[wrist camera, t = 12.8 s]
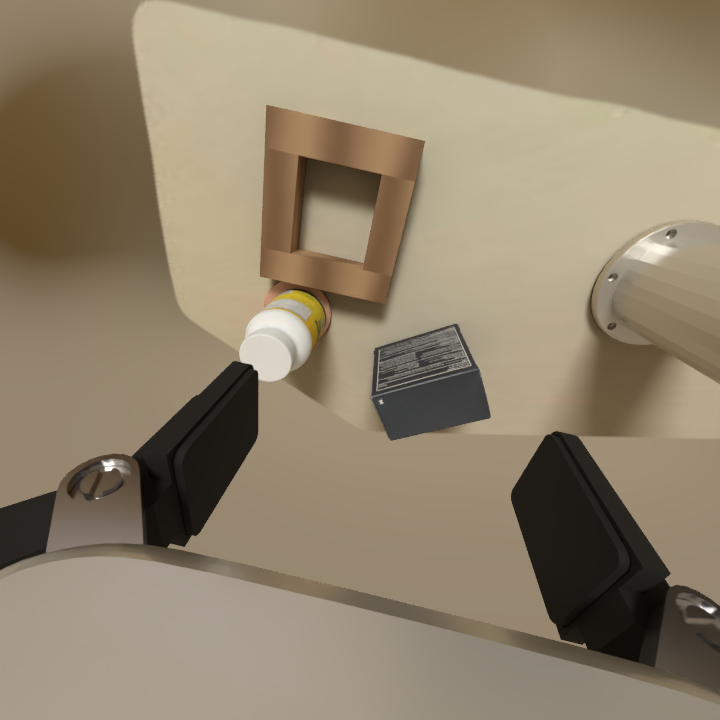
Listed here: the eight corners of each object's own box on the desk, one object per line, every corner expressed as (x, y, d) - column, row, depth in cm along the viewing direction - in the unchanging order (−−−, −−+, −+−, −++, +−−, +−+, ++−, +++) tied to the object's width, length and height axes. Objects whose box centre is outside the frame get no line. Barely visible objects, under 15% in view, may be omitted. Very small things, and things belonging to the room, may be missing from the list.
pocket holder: (422, 145, 29) (425, 141, 26) (385, 295, 36) (384, 304, 33) (278, 112, 29) (266, 104, 26) (269, 269, 36) (259, 276, 33)
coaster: (336, 286, 36) (335, 288, 35) (326, 347, 40) (325, 349, 39) (267, 271, 36) (265, 272, 35) (264, 334, 40) (262, 335, 39)
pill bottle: (302, 348, 40) (269, 402, 29) (263, 310, 38) (213, 354, 27) (338, 316, 37) (317, 364, 27) (299, 274, 35) (259, 309, 25)
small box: (389, 388, 42) (388, 445, 33) (373, 347, 39) (366, 396, 30) (470, 367, 39) (493, 422, 30) (458, 321, 37) (479, 366, 28)
